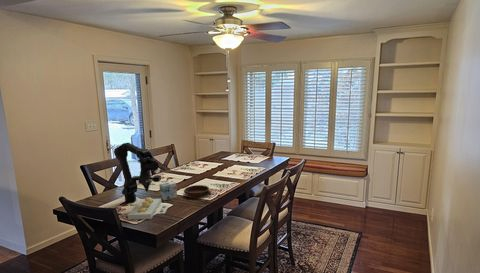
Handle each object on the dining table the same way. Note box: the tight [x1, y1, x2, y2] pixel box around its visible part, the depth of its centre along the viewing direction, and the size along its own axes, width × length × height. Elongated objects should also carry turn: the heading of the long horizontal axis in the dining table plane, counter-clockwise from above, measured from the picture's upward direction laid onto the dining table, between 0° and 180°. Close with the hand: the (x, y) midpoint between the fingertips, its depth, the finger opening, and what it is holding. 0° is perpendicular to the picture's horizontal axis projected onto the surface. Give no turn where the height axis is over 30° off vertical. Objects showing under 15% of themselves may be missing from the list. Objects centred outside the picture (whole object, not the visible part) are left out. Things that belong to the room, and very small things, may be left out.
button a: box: [139, 207, 146, 212], centre depth 184 cm, size 4×4×4 cm
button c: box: [144, 196, 153, 203], centre depth 198 cm, size 4×4×4 cm
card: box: [156, 205, 169, 215], centre depth 191 cm, size 5×12×1 cm, turn 1°
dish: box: [183, 184, 212, 199], centre depth 217 cm, size 18×22×5 cm
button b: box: [142, 201, 149, 208], centre depth 191 cm, size 4×4×4 cm
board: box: [127, 198, 162, 221], centre depth 191 cm, size 14×26×3 cm, turn 1°
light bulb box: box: [159, 180, 178, 201], centre depth 213 cm, size 11×7×11 cm, turn 126°
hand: (147, 191), depth 196 cm, fingers closed
